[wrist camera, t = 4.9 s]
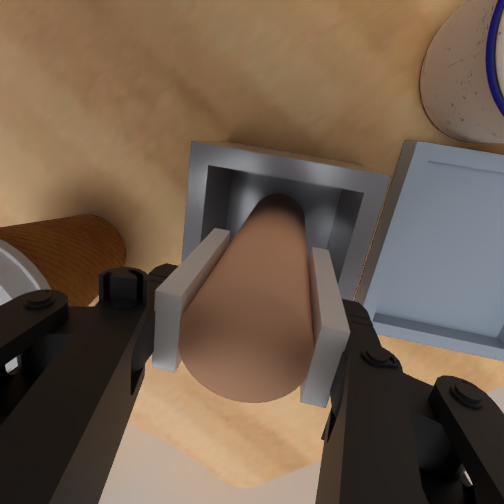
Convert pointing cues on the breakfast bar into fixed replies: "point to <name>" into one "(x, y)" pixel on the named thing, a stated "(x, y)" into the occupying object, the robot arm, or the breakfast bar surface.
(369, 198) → the open square box
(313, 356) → the robot arm
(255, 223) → the dowel
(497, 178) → the tray
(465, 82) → the teacup with lid
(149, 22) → the breakfast bar surface
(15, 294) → the disposable coffee cup
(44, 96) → the breakfast bar surface
